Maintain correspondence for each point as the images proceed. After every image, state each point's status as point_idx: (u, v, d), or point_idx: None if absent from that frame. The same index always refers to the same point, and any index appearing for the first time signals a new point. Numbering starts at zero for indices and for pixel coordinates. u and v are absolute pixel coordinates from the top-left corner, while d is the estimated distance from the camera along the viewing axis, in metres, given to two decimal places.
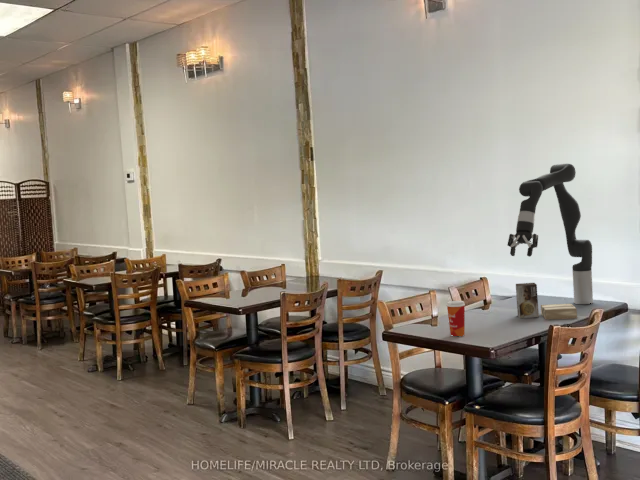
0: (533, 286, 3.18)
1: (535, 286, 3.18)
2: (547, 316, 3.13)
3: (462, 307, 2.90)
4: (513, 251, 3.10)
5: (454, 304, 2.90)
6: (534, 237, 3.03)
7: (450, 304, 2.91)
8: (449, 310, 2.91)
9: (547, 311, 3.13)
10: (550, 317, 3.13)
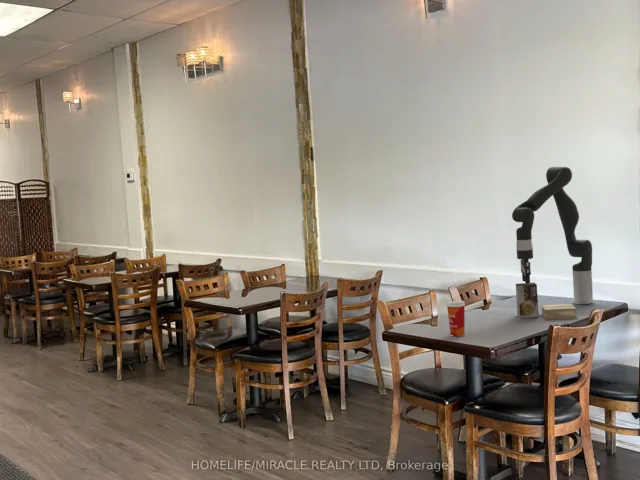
0: (533, 286, 3.18)
1: (535, 286, 3.18)
2: (547, 316, 3.13)
3: (462, 307, 2.90)
4: (524, 277, 3.25)
5: (454, 304, 2.90)
6: (524, 266, 3.15)
7: (450, 304, 2.91)
8: (449, 310, 2.91)
9: (547, 311, 3.13)
10: (550, 317, 3.13)
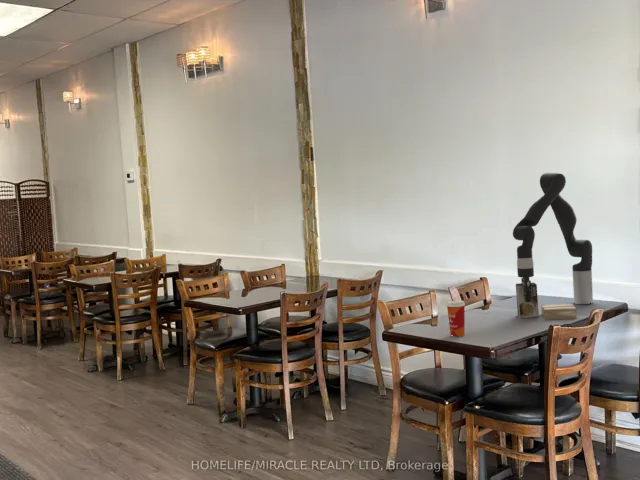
0: (533, 286, 3.18)
1: (535, 286, 3.18)
2: (546, 316, 3.14)
3: (462, 307, 2.90)
4: None
5: (454, 304, 2.90)
6: (525, 285, 3.16)
7: (450, 304, 2.91)
8: (449, 310, 2.91)
9: (546, 311, 3.13)
10: (549, 317, 3.13)
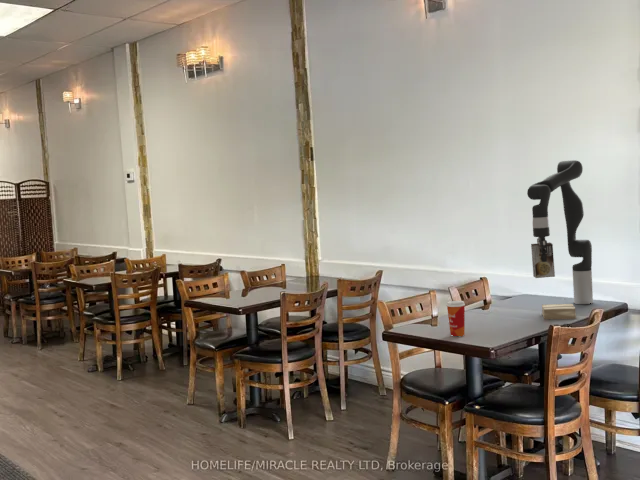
0: (549, 245, 3.15)
1: (551, 245, 3.15)
2: (546, 316, 3.14)
3: (462, 307, 2.90)
4: None
5: (454, 304, 2.90)
6: (541, 244, 3.12)
7: (450, 304, 2.91)
8: (449, 310, 2.91)
9: (546, 311, 3.14)
10: (549, 317, 3.14)
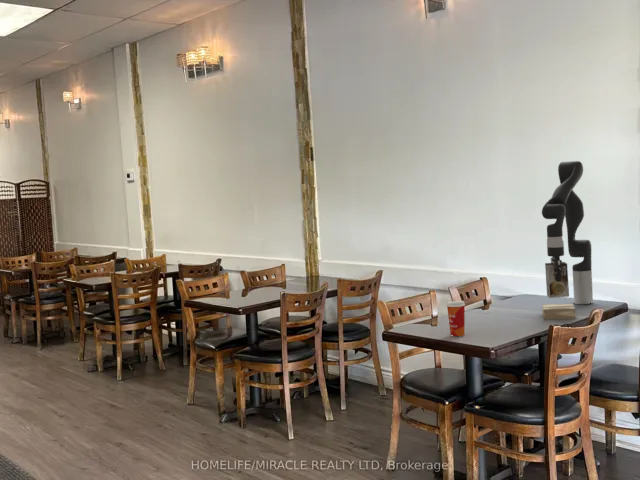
0: (563, 265, 3.14)
1: (565, 265, 3.14)
2: (545, 316, 3.14)
3: (462, 307, 2.90)
4: None
5: (454, 304, 2.90)
6: (556, 264, 3.11)
7: (450, 304, 2.91)
8: (449, 310, 2.91)
9: (545, 311, 3.14)
10: (548, 317, 3.14)
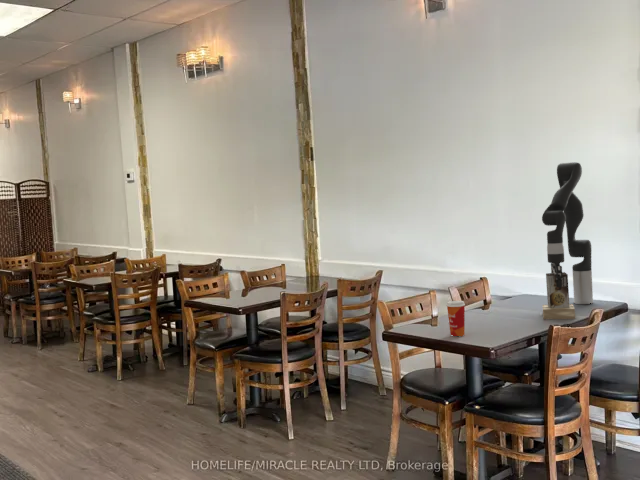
0: (564, 276, 3.13)
1: (566, 276, 3.13)
2: (545, 316, 3.14)
3: (462, 307, 2.90)
4: None
5: (454, 304, 2.90)
6: (556, 270, 3.11)
7: (450, 304, 2.91)
8: (449, 310, 2.91)
9: (545, 311, 3.14)
10: (548, 317, 3.14)
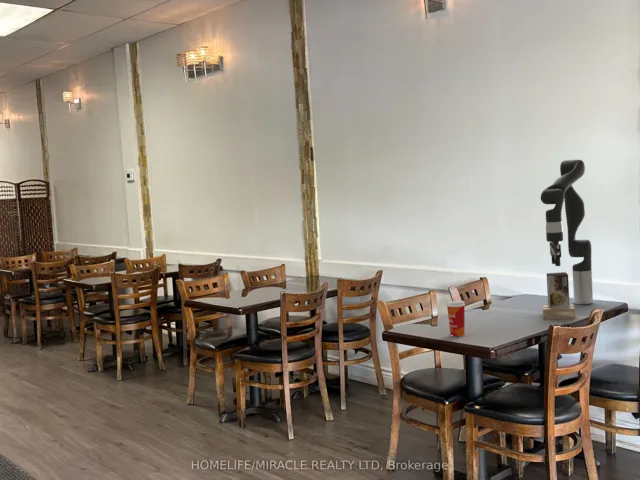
0: (564, 276, 3.13)
1: (566, 276, 3.13)
2: (545, 316, 3.14)
3: (462, 307, 2.90)
4: (553, 259, 3.21)
5: (454, 304, 2.90)
6: (555, 248, 3.10)
7: (450, 304, 2.91)
8: (449, 310, 2.91)
9: (545, 311, 3.14)
10: (548, 317, 3.14)
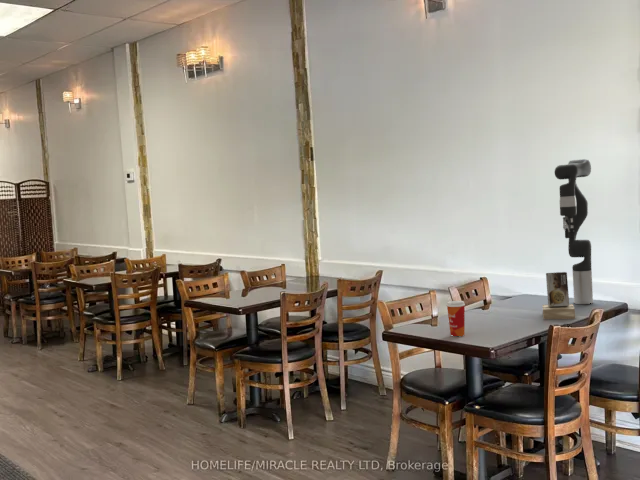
0: (563, 274, 3.16)
1: (565, 274, 3.16)
2: (545, 316, 3.14)
3: (462, 307, 2.90)
4: (567, 234, 3.27)
5: (454, 304, 2.90)
6: (569, 222, 3.17)
7: (450, 304, 2.91)
8: (449, 310, 2.91)
9: (545, 311, 3.14)
10: (548, 317, 3.14)
